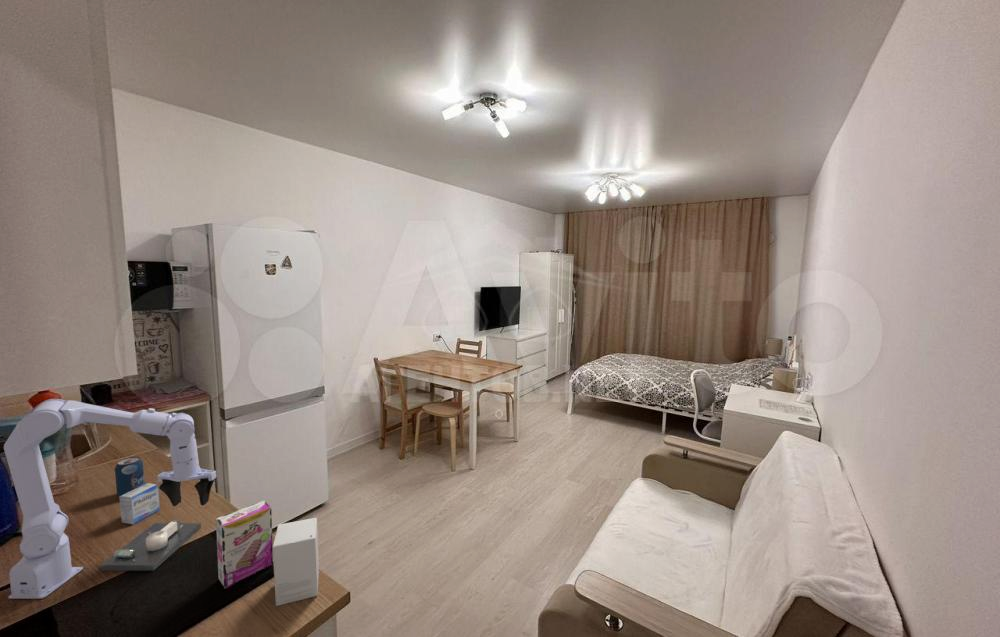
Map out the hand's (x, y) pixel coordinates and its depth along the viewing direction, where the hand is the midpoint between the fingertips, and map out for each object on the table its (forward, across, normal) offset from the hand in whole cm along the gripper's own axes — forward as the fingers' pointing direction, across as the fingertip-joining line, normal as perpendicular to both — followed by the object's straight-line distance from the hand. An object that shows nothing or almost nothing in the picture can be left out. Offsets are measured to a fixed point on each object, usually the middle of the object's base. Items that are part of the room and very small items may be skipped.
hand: (190, 503), depth 114 cm
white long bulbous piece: (+8, +6, +3) cm, 11 cm away
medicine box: (+10, +23, -10) cm, 27 cm away
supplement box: (+12, -37, +18) cm, 43 cm away
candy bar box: (+11, -22, +14) cm, 28 cm away
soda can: (+10, +36, -22) cm, 43 cm away
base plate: (+10, +8, +4) cm, 13 cm away
